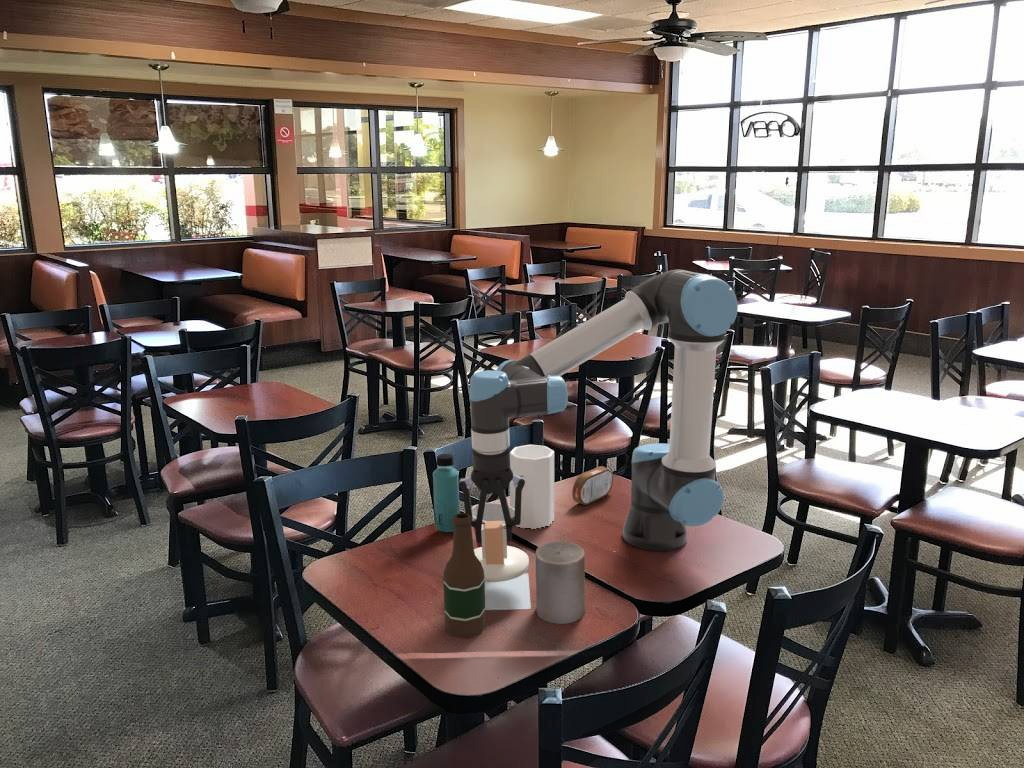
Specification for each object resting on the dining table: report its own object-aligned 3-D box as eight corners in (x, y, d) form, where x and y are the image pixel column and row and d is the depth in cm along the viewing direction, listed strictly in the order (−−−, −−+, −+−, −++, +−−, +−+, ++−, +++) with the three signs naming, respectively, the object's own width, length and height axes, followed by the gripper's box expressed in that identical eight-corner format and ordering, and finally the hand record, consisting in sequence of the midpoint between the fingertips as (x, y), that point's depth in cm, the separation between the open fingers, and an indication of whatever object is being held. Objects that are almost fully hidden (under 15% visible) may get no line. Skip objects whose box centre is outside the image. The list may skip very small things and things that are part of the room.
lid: (527, 549, 176) (526, 509, 174) (530, 580, 163) (529, 538, 160) (462, 551, 176) (461, 511, 174) (459, 583, 163) (457, 540, 160)
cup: (563, 519, 207) (563, 450, 203) (535, 534, 199) (535, 462, 195) (529, 508, 214) (528, 441, 210) (501, 522, 206) (500, 452, 202)
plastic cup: (512, 572, 180) (512, 522, 177) (465, 568, 182) (463, 518, 179) (521, 550, 191) (521, 502, 188) (476, 547, 193) (475, 499, 190)
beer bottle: (445, 621, 161) (441, 508, 155) (484, 619, 161) (482, 506, 155) (445, 643, 153) (441, 525, 147) (486, 641, 154) (484, 523, 148)
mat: (528, 576, 178) (528, 573, 178) (530, 612, 164) (530, 608, 164) (459, 577, 178) (459, 574, 178) (456, 613, 164) (455, 610, 163)
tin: (605, 490, 226) (606, 461, 224) (615, 493, 224) (615, 464, 222) (571, 506, 215) (571, 476, 213) (580, 509, 213) (580, 479, 211)
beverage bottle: (465, 529, 202) (463, 452, 197) (452, 539, 197) (450, 461, 192) (442, 524, 205) (440, 449, 200) (429, 535, 199) (426, 457, 194)
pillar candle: (559, 597, 170) (559, 530, 166) (595, 614, 163) (595, 545, 159) (525, 614, 163) (524, 545, 159) (561, 633, 156) (560, 562, 152)
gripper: (532, 441, 167) (534, 546, 173) (450, 443, 166) (455, 548, 172) (533, 453, 159) (535, 563, 165) (448, 456, 159) (453, 565, 165)
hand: (494, 555), depth 169 cm, fingers closed on lid, 4 cm apart
